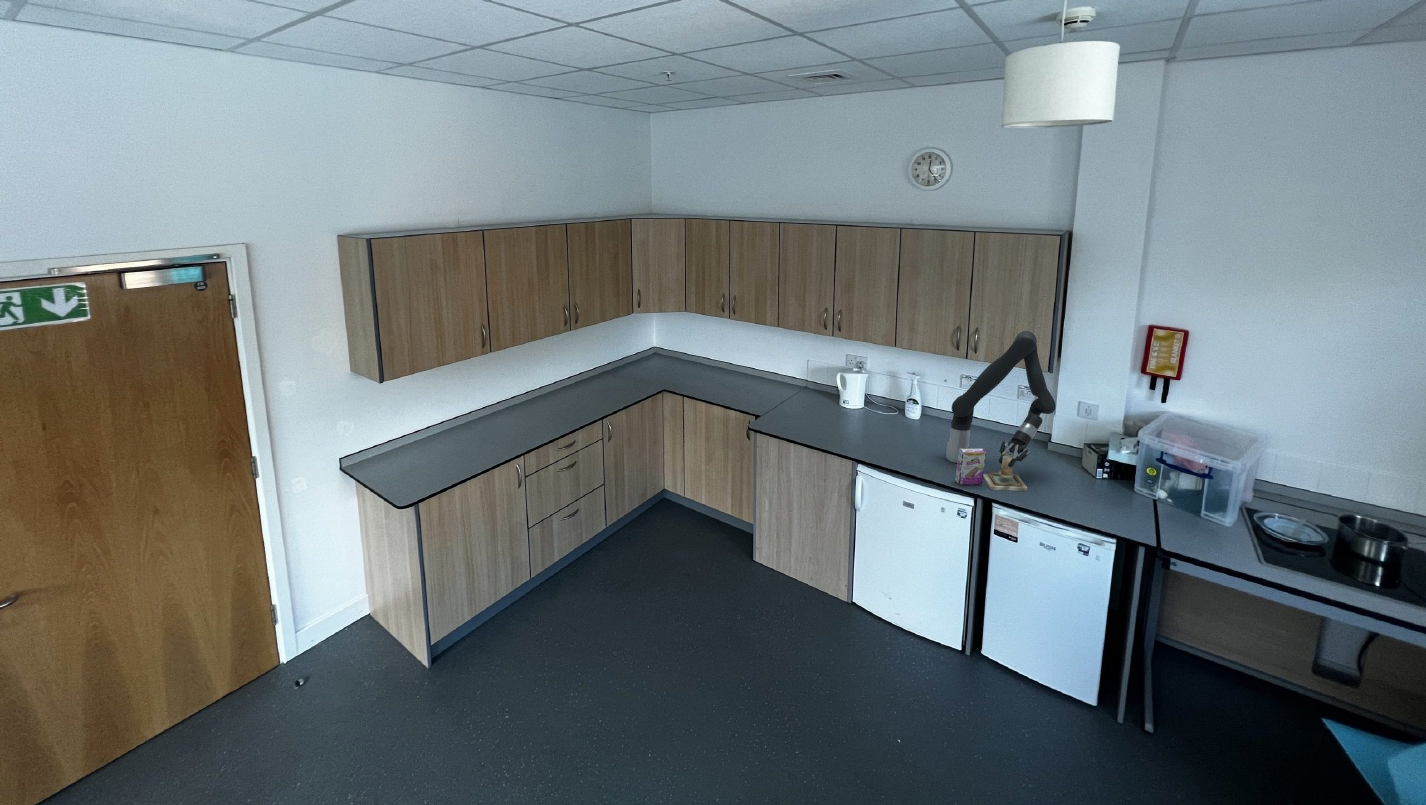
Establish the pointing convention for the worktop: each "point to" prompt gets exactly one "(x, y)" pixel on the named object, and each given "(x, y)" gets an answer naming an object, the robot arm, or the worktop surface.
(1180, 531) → the worktop surface
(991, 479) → the picture frame
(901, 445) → the worktop surface
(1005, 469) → the beech bobbin
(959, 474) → the candy bar box
